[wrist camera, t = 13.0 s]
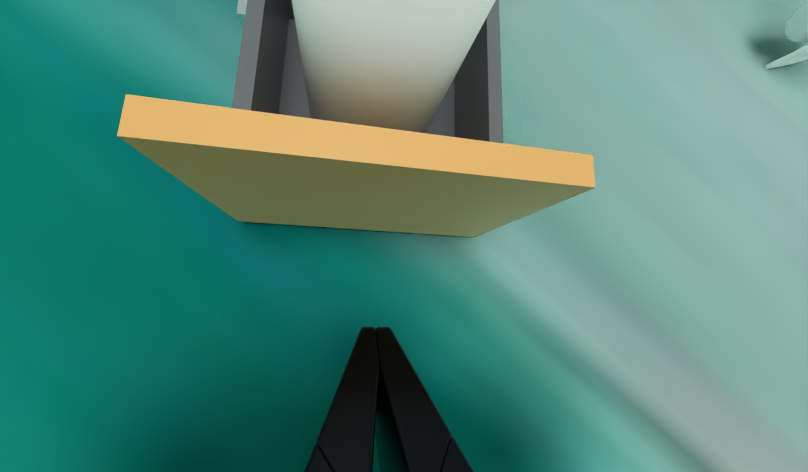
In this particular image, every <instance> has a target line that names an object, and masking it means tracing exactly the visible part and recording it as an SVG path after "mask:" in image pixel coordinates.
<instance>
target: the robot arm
mask: <svg viewBox="0 0 808 472" xmlns="http://www.w3.org/2000/svg"><path fill="white" fill-rule="evenodd" d="M375 432H376V441H377V449H378V458H379V467H380V472H474V471H473V469H472V468H471V466H470V464H469V463H468V461H467V460H466V458H465V456H464V455H463V453H462V451H461V450H460V448H459V446H458V444H457V443H456V441H455V439H454V438H453V437H451V432H450V431H449V429H448V427H447V426H446V424H445V422H444V420H443V419H442V417H441V415H440V413H439V412H438V410H437V408H436V406H435V405H434V403H433V401H432V400H431V398H430V396H429V394H428V393H427V391H426V389H425V387H424V386H423V384H422V382H421V380H420V379H419V377H418V375H417V373H416V372H415V370H414V368H413V367H412V365H411V363H410V361H409V360H408V358H407V356H406V354H405V353H404V351H403V349H402V347H401V346H400V344H399V342H398V341H397V339H396V337H395V335H394V334H393V332H392V330H391V329H390V328H389V327H377V328H376V329H375V327H362V328H361V330H360V332H359V335H358V337H357V340H356V343H355V345H354V348H353V350H352V353H351V355H350V358H349V360H348V363H347V365H346V368H345V371H344V373H343V376H342V378H341V381H340V383H339V386H338V388H337V391H336V393H335V396H334V399H333V401H332V404H331V406H330V409H329V411H328V414H327V416H326V419H325V421H324V424H323V426H322V429H321V432H320V434H319V437H318V439H317V442H316V445H315V446H314V449H313V451H312V454H311V457H310V459H309V462H308V464H307V466H306V469H305V471H304V472H372V465H373V451H374V437H375Z"/></svg>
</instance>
